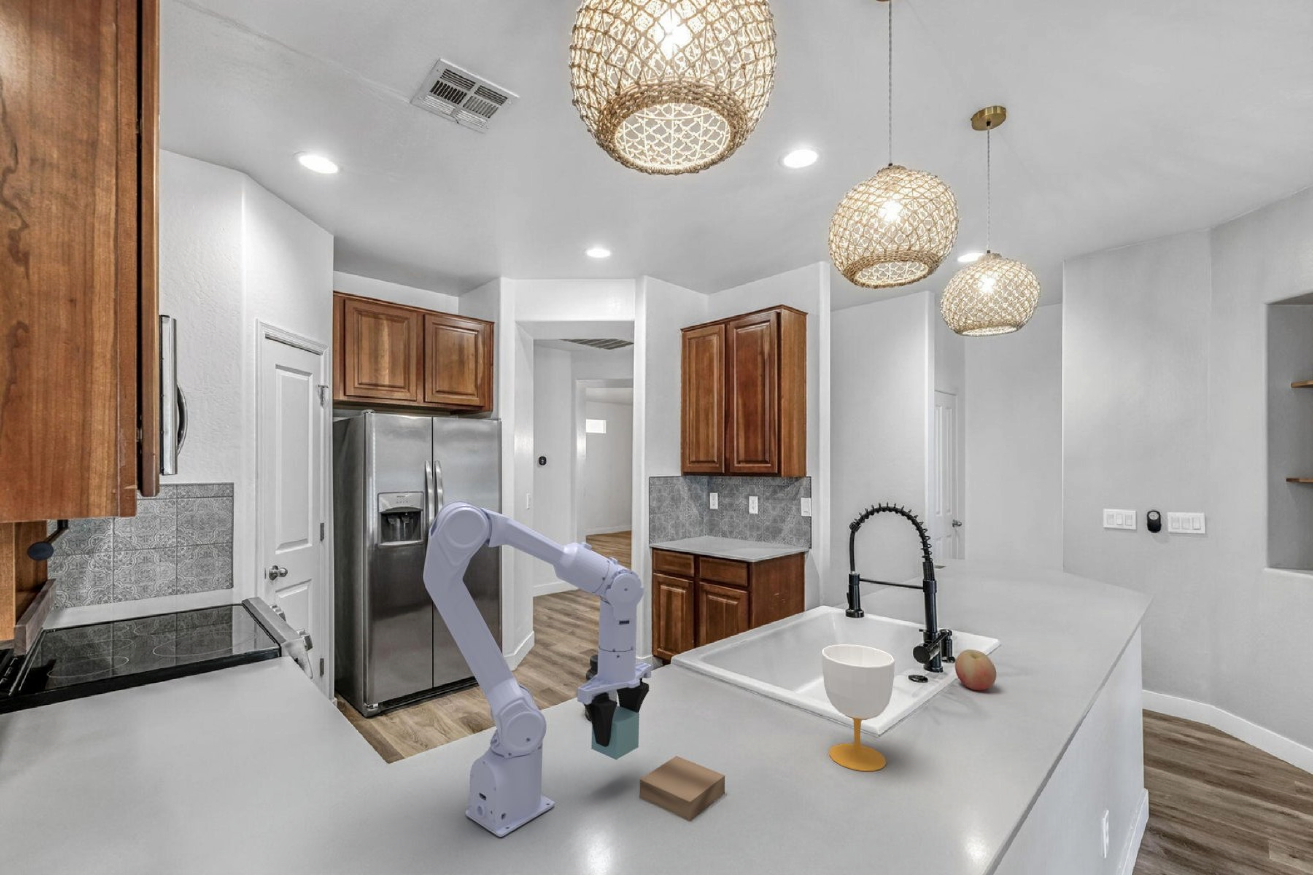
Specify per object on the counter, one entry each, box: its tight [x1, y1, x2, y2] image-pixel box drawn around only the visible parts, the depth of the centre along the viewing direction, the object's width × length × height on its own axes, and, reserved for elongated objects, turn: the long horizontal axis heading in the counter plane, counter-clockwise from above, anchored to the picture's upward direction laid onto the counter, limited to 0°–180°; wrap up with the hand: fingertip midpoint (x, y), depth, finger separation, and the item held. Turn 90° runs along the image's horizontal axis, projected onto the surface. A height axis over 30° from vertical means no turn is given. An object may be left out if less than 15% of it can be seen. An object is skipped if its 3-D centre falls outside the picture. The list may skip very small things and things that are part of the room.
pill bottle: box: [584, 654, 618, 721], centre depth 114 cm, size 6×6×11 cm
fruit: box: [954, 649, 997, 691], centre depth 132 cm, size 8×8×8 cm
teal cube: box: [590, 705, 640, 760], centre depth 89 cm, size 5×5×5 cm
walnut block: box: [638, 755, 726, 822], centre depth 87 cm, size 9×9×3 cm
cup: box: [821, 643, 896, 772], centre depth 99 cm, size 12×12×17 cm
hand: (615, 737), depth 89 cm, fingers closed on teal cube, 5 cm apart
